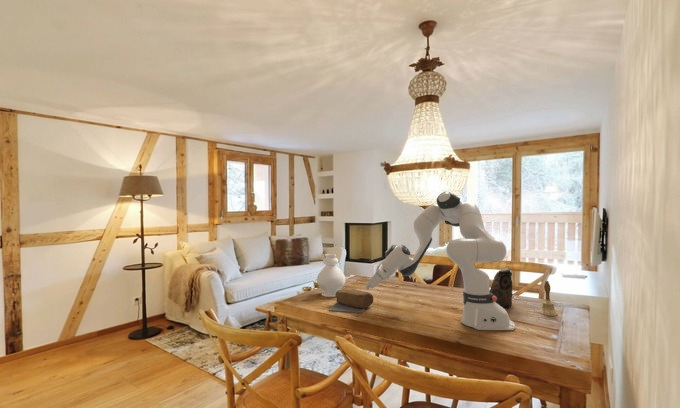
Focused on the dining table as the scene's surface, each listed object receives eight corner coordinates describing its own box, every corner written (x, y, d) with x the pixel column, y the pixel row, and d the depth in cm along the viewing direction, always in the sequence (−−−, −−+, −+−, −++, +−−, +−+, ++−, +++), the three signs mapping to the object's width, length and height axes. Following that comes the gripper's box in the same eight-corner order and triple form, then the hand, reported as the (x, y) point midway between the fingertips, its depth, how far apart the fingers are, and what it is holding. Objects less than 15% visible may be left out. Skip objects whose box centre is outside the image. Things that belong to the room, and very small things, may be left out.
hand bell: (547, 316, 164) (546, 283, 164) (534, 311, 172) (534, 279, 172) (562, 315, 165) (561, 282, 166) (549, 310, 174) (548, 278, 174)
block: (362, 295, 179) (334, 290, 192) (362, 310, 178) (334, 304, 192) (374, 291, 187) (346, 287, 200) (374, 305, 187) (346, 300, 200)
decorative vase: (336, 289, 227) (335, 251, 227) (351, 295, 212) (350, 254, 212) (312, 293, 218) (311, 254, 218) (326, 299, 202) (325, 257, 203)
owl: (510, 302, 189) (509, 266, 189) (521, 309, 177) (520, 270, 177) (486, 302, 190) (485, 266, 190) (496, 309, 177) (495, 270, 177)
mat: (369, 303, 193) (369, 302, 193) (362, 313, 176) (362, 312, 176) (338, 301, 198) (338, 300, 198) (328, 311, 181) (328, 309, 181)
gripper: (383, 262, 190) (366, 279, 193) (377, 269, 170) (358, 288, 173) (391, 270, 189) (374, 287, 191) (386, 278, 169) (367, 297, 172)
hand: (367, 288), depth 182 cm, fingers closed
